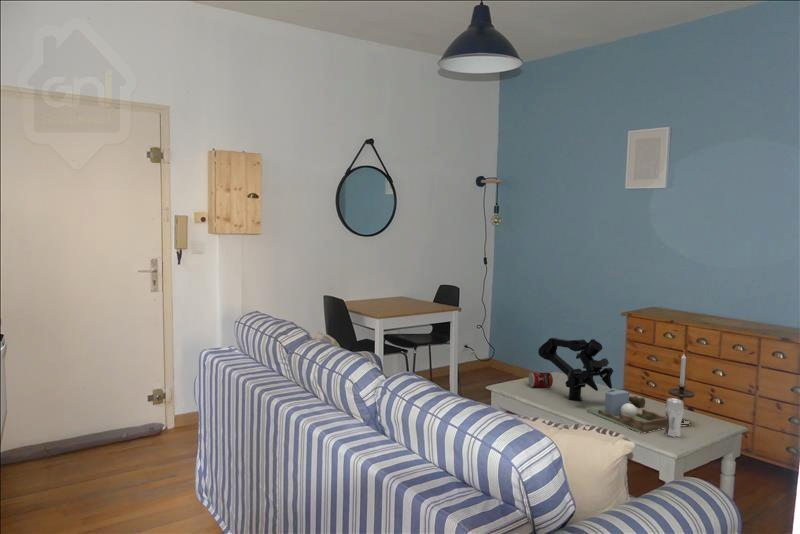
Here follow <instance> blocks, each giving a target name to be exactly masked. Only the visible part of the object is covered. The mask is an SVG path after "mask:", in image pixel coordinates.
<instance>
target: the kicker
mask: <svg viewBox="0 0 800 534" xmlns="http://www.w3.org/2000/svg"><path fill="white" fill-rule="evenodd" d="M627 391H628V390H627ZM627 391H624V390H620V389H619V390H615V391H613V392H610V391H609V392H608V391H607V392H605V400H604V408H605V412H606V413H609V414H611V415H614V416H615V415H620V413H621V407H622V406H623V405H624V404H626V403H630V401H629V397H630V392H629V391H628V392H627Z"/></svg>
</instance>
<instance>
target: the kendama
mask: <svg viewBox="0 0 800 534" xmlns="http://www.w3.org/2000/svg"><path fill="white" fill-rule="evenodd" d="M619 390H624V391H627V392H629V391H628V390H627V389H625V388H620V389H619ZM613 391H616V390H613V389H612V390H610V391H607V392H613ZM629 403H630V404H633V405H634V406H635V405H636V406H638V408H640V407H642V408H644V407H645V405H646V399H645V397H638V396H637V395H634V396H629Z"/></svg>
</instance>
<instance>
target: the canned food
mask: <svg viewBox="0 0 800 534" xmlns="http://www.w3.org/2000/svg"><path fill="white" fill-rule="evenodd" d="M553 383H554V378H553V375H552V373H550V372H529V375H528V384H529V387H531V388H546V387H547V388H548V387H549V388H550V387H552V386H553Z"/></svg>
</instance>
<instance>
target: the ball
mask: <svg viewBox="0 0 800 534" xmlns="http://www.w3.org/2000/svg"><path fill="white" fill-rule="evenodd" d="M637 412H638V409H637V407H636V406H635V405H633V404H632V403H631V402H629V403H626V404H624V405H623V406H622V407H621V413H623V414H626V415H628V416H631V417H635V416H636V414H637Z"/></svg>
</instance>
